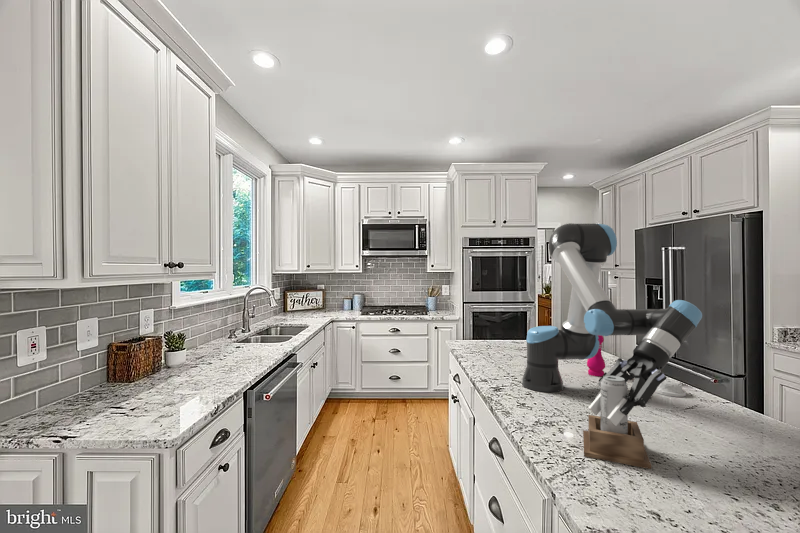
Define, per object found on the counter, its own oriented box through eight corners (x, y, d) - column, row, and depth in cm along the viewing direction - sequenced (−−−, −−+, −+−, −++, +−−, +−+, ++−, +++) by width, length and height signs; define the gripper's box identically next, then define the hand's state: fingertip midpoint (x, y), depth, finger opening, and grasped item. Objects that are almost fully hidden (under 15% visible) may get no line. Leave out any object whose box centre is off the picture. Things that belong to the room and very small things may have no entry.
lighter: (619, 394, 146) (629, 383, 145) (620, 396, 144) (629, 385, 143) (598, 379, 150) (607, 368, 149) (598, 381, 148) (607, 370, 147)
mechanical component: (692, 398, 136) (675, 389, 146) (692, 386, 136) (675, 378, 146) (663, 397, 137) (648, 388, 147) (663, 385, 137) (648, 377, 147)
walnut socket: (584, 456, 93) (584, 431, 93) (583, 433, 105) (583, 412, 105) (651, 469, 87) (651, 443, 87) (641, 443, 99) (641, 421, 99)
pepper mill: (583, 372, 168) (583, 328, 169) (598, 372, 169) (598, 327, 169) (593, 377, 161) (593, 330, 161) (609, 376, 162) (608, 330, 162)
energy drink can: (627, 444, 92) (627, 382, 92) (599, 438, 95) (599, 379, 95) (627, 434, 97) (627, 376, 97) (601, 429, 100) (601, 373, 100)
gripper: (699, 368, 90) (641, 443, 87) (634, 351, 109) (585, 412, 105) (680, 347, 89) (621, 422, 86) (618, 333, 108) (568, 394, 104)
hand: (601, 416), depth 95 cm, fingers closed on energy drink can, 6 cm apart
